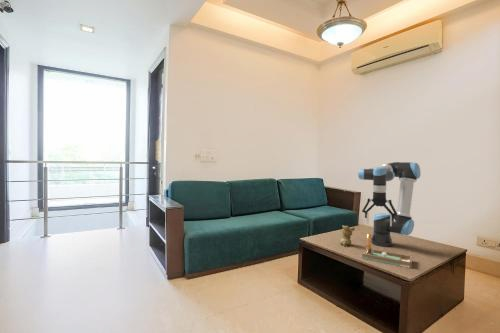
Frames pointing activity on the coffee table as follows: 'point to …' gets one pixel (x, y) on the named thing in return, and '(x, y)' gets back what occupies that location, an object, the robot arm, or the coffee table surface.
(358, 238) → the coffee table surface
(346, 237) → the figurine
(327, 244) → the coffee table surface
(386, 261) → the pitch
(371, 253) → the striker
